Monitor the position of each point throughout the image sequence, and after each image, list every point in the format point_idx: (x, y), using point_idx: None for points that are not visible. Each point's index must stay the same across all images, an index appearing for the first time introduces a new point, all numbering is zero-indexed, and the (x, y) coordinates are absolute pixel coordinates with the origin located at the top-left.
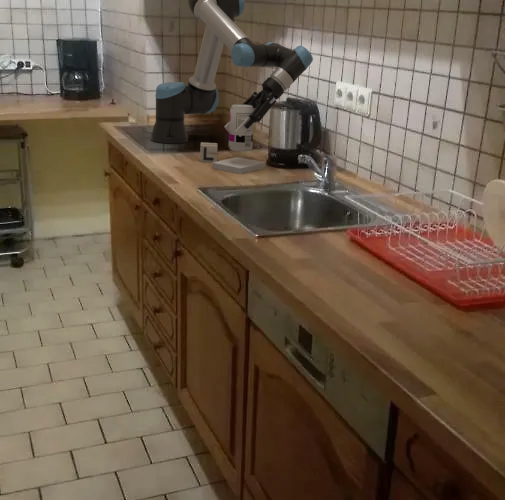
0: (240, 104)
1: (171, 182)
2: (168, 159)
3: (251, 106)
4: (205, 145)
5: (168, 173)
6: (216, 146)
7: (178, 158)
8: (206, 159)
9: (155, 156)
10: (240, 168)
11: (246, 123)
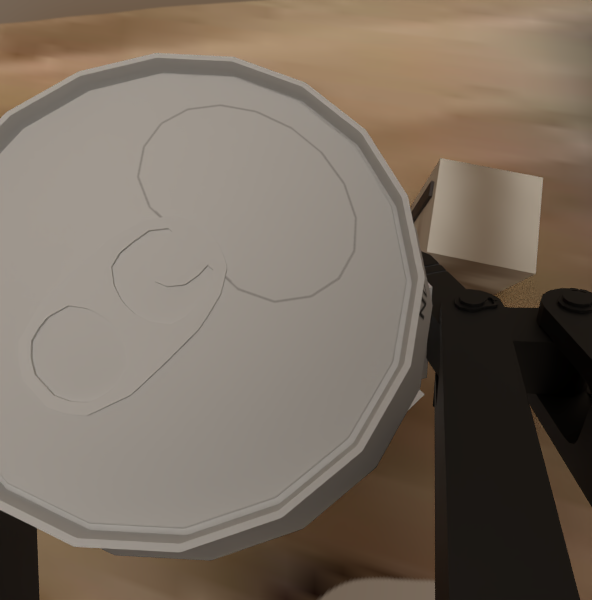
0: (418, 278)
1: (22, 38)
2: (458, 84)
3: (122, 513)
4: (441, 185)
5: (175, 48)
6: (427, 247)
7: (487, 127)
8: None
9: (518, 44)
10: None
11: None
